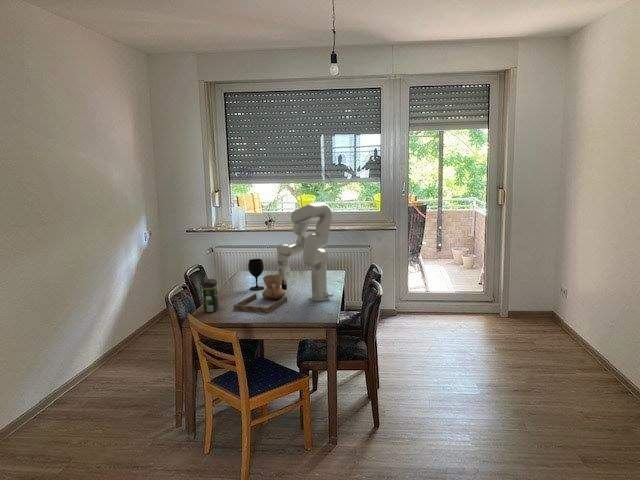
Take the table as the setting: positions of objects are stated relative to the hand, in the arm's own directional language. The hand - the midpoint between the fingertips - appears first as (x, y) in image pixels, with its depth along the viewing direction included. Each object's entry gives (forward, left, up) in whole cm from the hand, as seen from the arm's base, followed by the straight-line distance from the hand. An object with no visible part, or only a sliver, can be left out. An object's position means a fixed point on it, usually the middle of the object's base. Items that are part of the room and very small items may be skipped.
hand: (284, 289), depth 330 cm
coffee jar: (+24, +49, -2) cm, 55 cm away
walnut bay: (0, +31, -2) cm, 31 cm away
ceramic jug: (0, +15, -2) cm, 16 cm away
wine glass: (+22, -3, -2) cm, 22 cm away
